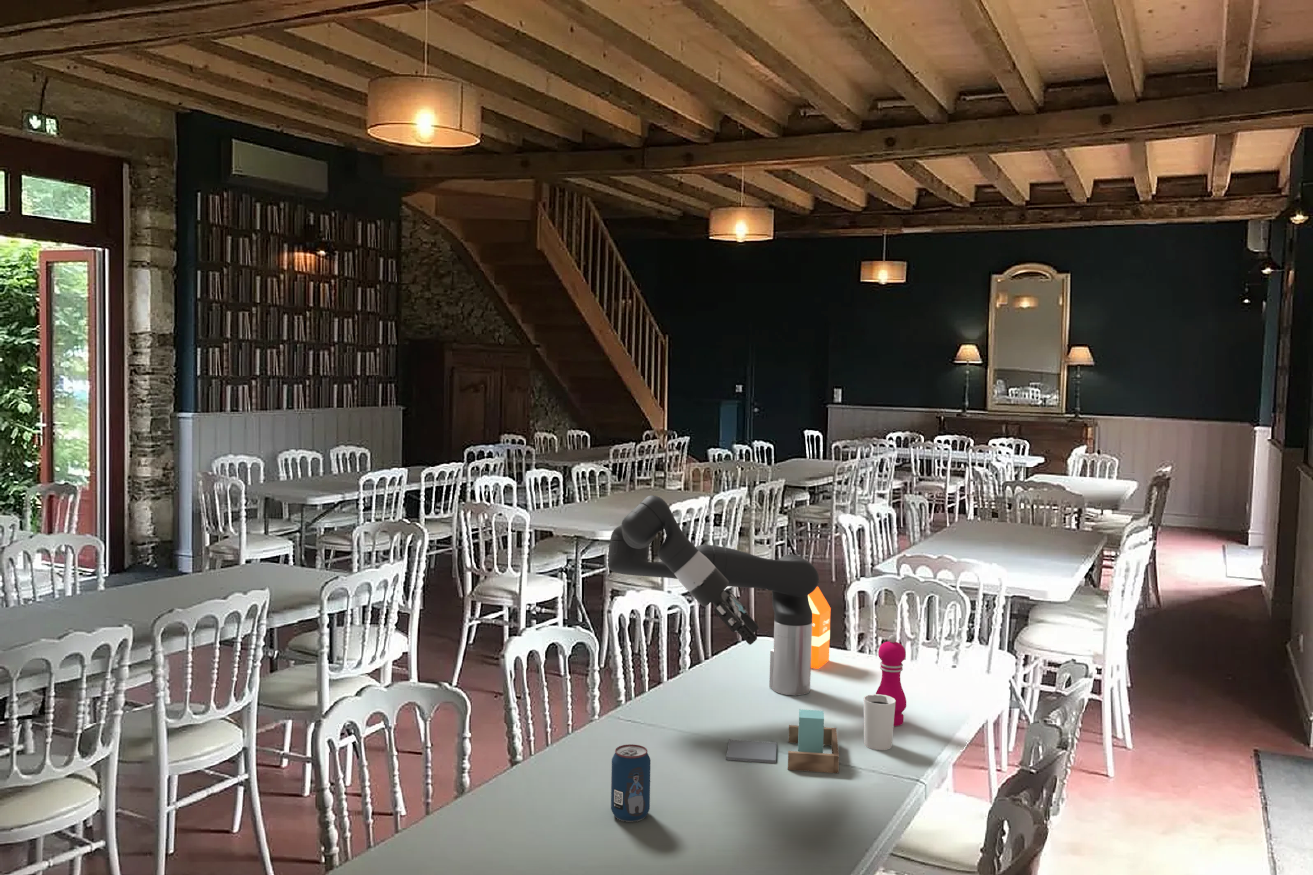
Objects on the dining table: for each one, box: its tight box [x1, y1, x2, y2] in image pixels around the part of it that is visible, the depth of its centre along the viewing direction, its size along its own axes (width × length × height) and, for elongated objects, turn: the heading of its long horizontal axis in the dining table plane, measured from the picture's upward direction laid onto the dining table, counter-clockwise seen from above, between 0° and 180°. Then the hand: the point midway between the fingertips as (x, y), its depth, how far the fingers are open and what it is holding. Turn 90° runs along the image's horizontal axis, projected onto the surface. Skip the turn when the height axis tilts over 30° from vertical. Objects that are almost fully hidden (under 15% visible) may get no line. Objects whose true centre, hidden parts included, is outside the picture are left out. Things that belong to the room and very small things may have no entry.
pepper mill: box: [875, 634, 907, 727], centre depth 242 cm, size 7×7×20 cm
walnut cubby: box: [787, 724, 840, 774], centre depth 221 cm, size 10×16×4 cm, turn 173°
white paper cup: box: [863, 693, 896, 751], centre depth 228 cm, size 7×7×10 cm
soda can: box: [610, 744, 652, 823], centre depth 191 cm, size 7×7×12 cm
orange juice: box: [808, 586, 832, 670], centre depth 287 cm, size 8×9×20 cm
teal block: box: [797, 708, 825, 753], centre depth 221 cm, size 5×5×9 cm
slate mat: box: [725, 739, 777, 764], centre depth 223 cm, size 10×10×1 cm
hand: (754, 636), depth 221 cm, fingers open, 8 cm apart
